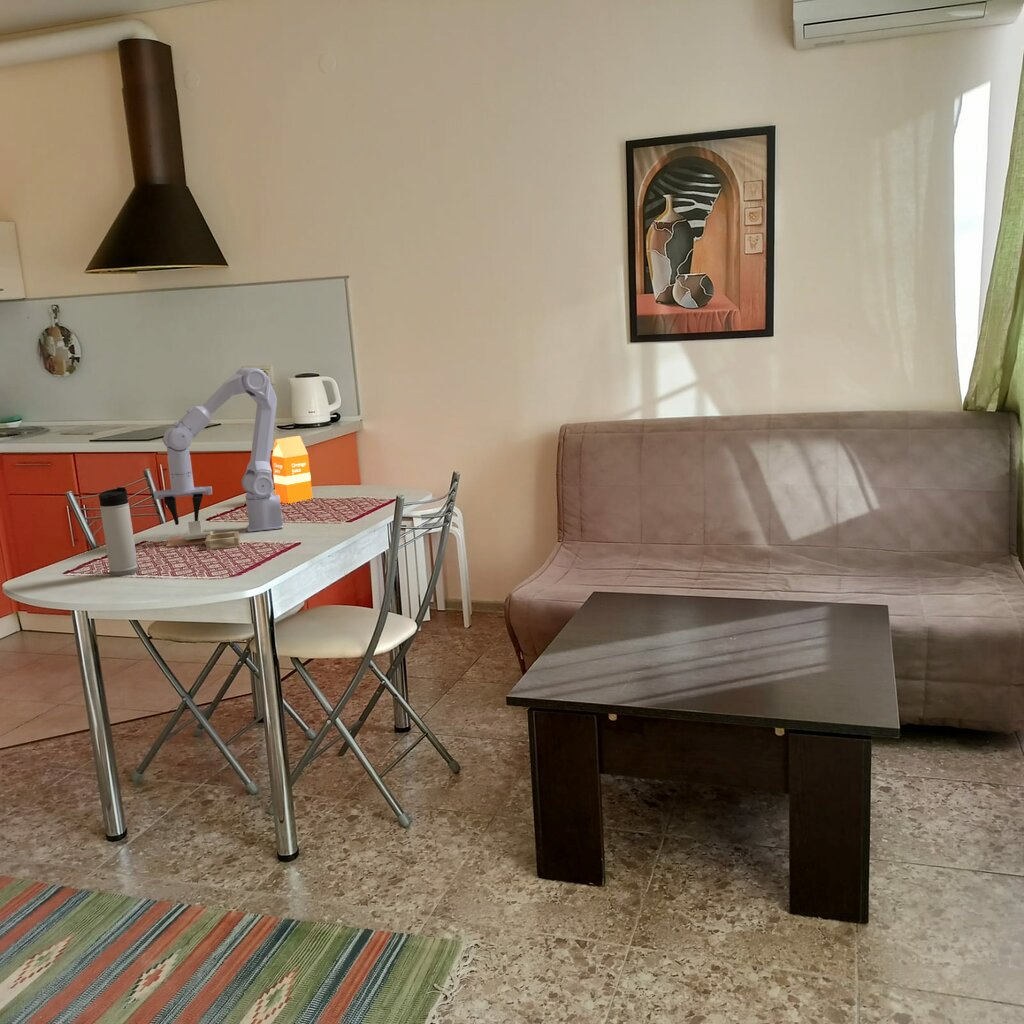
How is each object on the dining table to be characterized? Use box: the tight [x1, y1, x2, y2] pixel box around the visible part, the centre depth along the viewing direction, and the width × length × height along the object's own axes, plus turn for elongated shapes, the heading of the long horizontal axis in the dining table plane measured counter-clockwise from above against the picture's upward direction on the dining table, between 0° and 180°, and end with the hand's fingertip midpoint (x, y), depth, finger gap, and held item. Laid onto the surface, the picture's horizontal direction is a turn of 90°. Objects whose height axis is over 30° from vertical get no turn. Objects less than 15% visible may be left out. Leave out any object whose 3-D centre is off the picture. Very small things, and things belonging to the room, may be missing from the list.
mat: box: [165, 535, 206, 548], centre depth 261 cm, size 11×11×1 cm
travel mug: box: [98, 486, 139, 577], centre depth 230 cm, size 6×7×20 cm
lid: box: [178, 520, 215, 540], centre depth 259 cm, size 8×8×5 cm
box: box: [205, 530, 240, 551], centre depth 254 cm, size 8×8×2 cm
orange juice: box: [271, 435, 313, 504], centre depth 308 cm, size 8×9×20 cm
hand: (186, 523), depth 260 cm, fingers open, 4 cm apart
